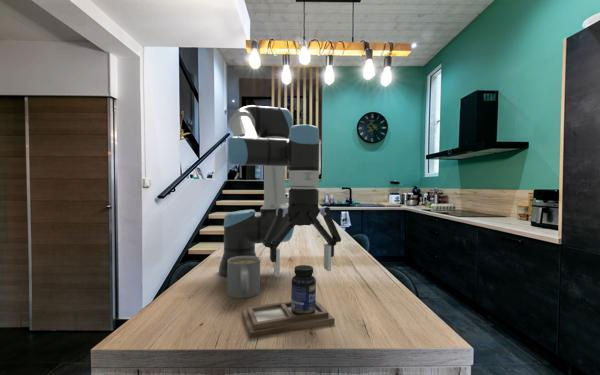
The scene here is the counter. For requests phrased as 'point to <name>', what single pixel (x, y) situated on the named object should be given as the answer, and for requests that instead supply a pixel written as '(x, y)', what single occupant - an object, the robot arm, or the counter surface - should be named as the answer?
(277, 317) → the divided wooden tray
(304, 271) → the pill bottle
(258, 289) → the coffee mug
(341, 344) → the counter surface
